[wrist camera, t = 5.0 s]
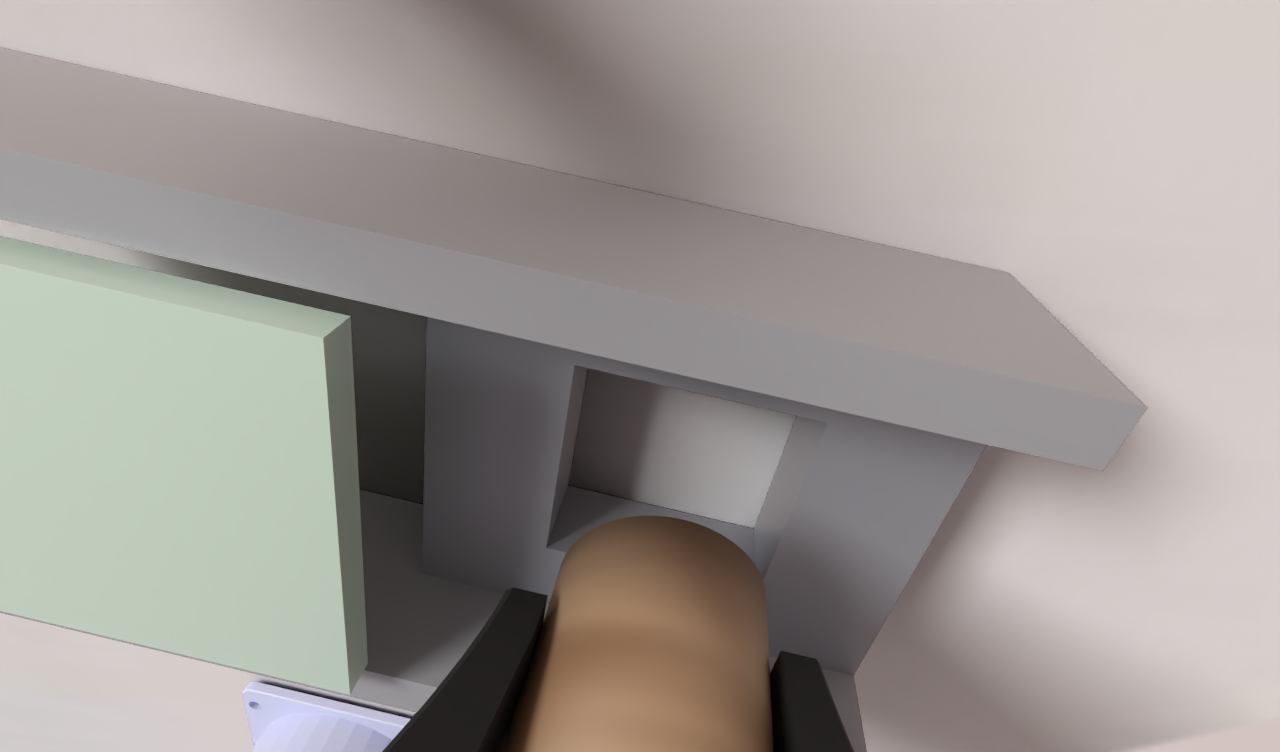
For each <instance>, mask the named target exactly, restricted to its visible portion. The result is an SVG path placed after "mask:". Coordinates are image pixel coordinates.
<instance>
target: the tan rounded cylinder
mask: <svg viewBox="0 0 1280 752" xmlns="http://www.w3.org/2000/svg"><path fill="white" fill-rule="evenodd" d="M502 752H774V748H773V727H772V706H771V685H770V664H769V643H768V622H767V601H766V589H765V585H764V582H763V579H762V577H761V574H760V572H759V570H758V568H757V567H756V565H755V564H754V562H753V561H752V560H751V559H750V557H749V556H748V555H747V554H746V553H745V552H744V551H743V550H742V549H741V548H740V547H738V546H737V545H736V544H735V543H734V542H732V541H731V540H729V539H728V538H726V537H725V536H723V535H722V534H720V533H718V532H716V531H714V530H712V529H710V528H708V527H705V526H702V525H700V524H697V523H694V522H690V521H687V520H683V519H678V518H672V517H666V516H634V517H626V518H621V519H617V520H613V521H610V522H607V523H605V524H602V525H599V526H597V527H595V528H594V529H592V530H590V531H588V532H587V533H585V534H584V535H583V536H581V537H580V538H579V539H578V540H577V541H576V542H575V543H574V544H573V545H572V546H571V547H570V549H569V550H568V552H567V553H566V555H565V557H564V559H563V561H562V564H561V567H560V570H559V573H558V576H557V579H556V583H555V586H554V589H553V592H552V595H551V598H550V602H549V605H548V608H547V611H546V614H545V617H544V621H543V625H542V628H541V632H540V635H539V638H538V641H537V644H536V648H535V651H534V654H533V657H532V660H531V663H530V667H529V670H528V673H527V676H526V679H525V682H524V685H523V687H522V690H521V694H520V697H519V700H518V703H517V706H516V709H515V713H514V716H513V719H512V722H511V725H510V729H509V732H508V735H507V738H506V741H505V744H504V748H503V751H502Z"/></svg>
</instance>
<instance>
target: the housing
mask: <svg viewBox="0 0 1280 752" xmlns="http://www.w3.org/2000/svg"><path fill="white" fill-rule="evenodd" d="M0 219H1V220H6V221H10V222H14V223H19V224H23V225H28V226H32V227H36V228H41V229H45V230H49V231H54V232H58V233H63V234H67V235H71V236H76V237H80V238H84V239H89V240H93V241H98V242H102V243H106V244H111V245H115V246H119V247H124V248H128V249H133V250H137V251H141V252H146V253H150V254H154V255H159V256H163V257H168V258H172V259H176V260H181V261H185V262H189V263H194V264H198V265H203V266H207V267H211V268H216V269H220V270H224V271H229V272H233V273H238V274H242V275H246V276H251V277H255V278H259V279H264V280H268V281H273V282H277V283H281V284H286V285H290V286H294V287H299V288H303V289H308V290H312V291H316V292H321V293H325V294H329V295H334V296H338V297H343V298H347V299H351V300H356V301H360V302H364V303H369V304H373V305H378V306H382V307H386V308H391V309H395V310H399V311H404V312H408V313H413V314H417V315H421V316H426V317H427V335H426V391H425V447H424V504H419V503H415V502H411V501H407V500H402V499H398V498H394V497H389V496H385V495H381V494H377V493H372V492H368V491H364V490H360V489H359V493H360V513H361V534H362V554H363V574H364V594H365V614H366V635H367V655H368V664H367V666H366V667H365V669H364V671H363V673H362V675H361V676H360V678H359V680H358V682H357V683H356V685H355V687H354V689H353V691H352V692H351V694H350V695H348V694H344V693H340V692H336V691H331V690H327V689H323V688H319V687H315V686H311V685H306V684H302V683H298V682H294V681H290V680H286V679H281V678H277V677H273V676H269V675H265V674H261V673H256V672H252V671H248V670H244V669H240V668H236V667H231V666H227V665H223V664H219V663H215V662H211V661H206V660H202V659H198V658H194V657H190V656H186V655H181V654H177V653H173V652H169V651H165V650H161V649H156V648H152V647H148V646H144V645H140V644H136V643H131V642H127V641H123V640H119V639H115V638H111V637H106V636H102V635H98V634H94V633H90V632H86V631H81V630H77V629H73V628H69V627H65V626H61V625H56V624H52V623H48V622H44V621H40V620H36V619H31V618H27V617H23V616H19V615H15V614H11V613H6V612H2V611H0V613H4V614H8V615H12V616H17V617H21V618H25V619H29V620H33V621H37V622H42V623H46V624H50V625H54V626H58V627H62V628H67V629H71V630H75V631H79V632H83V633H87V634H92V635H96V636H100V637H104V638H108V639H112V640H117V641H121V642H125V643H129V644H133V645H137V646H141V647H146V648H150V649H154V650H158V651H162V652H166V653H171V654H175V655H179V656H183V657H187V658H191V659H196V660H200V661H204V662H208V663H212V664H216V665H221V666H225V667H229V668H233V669H237V670H241V671H246V672H250V673H254V674H258V675H262V676H266V677H271V678H275V679H279V680H283V681H287V682H291V683H296V684H300V685H304V686H308V687H312V688H316V689H321V690H325V691H329V692H333V693H337V694H341V695H346V696H350V697H354V698H358V699H362V700H366V701H371V702H375V703H379V704H383V705H387V706H391V707H396V708H400V709H404V710H408V711H412V712H416V713H417V712H418V710H419V709H420V708H421V707H422V706H423V705H424V703H425V702H426V701H427V700H428V699H429V697H430V696H431V695H432V694H433V693H434V691H435V690H436V689H437V688H438V686H439V685H440V684H441V682H442V681H443V680H444V679H445V677H446V676H447V675H448V674H449V672H450V671H451V670H452V669H453V667H454V666H455V665H456V664H457V662H458V661H459V660H460V659H461V657H462V656H463V654H464V653H465V652H466V650H467V649H468V648H469V646H470V645H471V644H472V642H473V641H474V639H475V638H476V637H477V635H478V634H479V632H480V631H481V630H482V628H483V627H484V625H485V624H486V622H487V621H488V619H489V618H490V616H491V615H492V613H493V612H494V610H495V608H496V607H497V605H498V604H499V602H500V600H501V598H502V597H503V595H504V593H505V591H506V590H508V589H510V588H513V587H514V588H519V589H523V590H527V591H531V592H535V593H540V594H544V595H548V597H547V603H546V609H545V614H546V611H547V608H548V605H549V602H550V598H551V595H552V592H553V589H554V586H555V583H556V579H557V576H558V573H559V570H560V567H561V564H562V561H563V559H564V557H565V555H566V553H567V552H568V550H569V549H570V547H571V546H572V545H573V544H574V543H575V542H576V541H577V540H578V539H579V538H580V537H581V536H583V535H584V534H585V533H587V532H588V531H590V530H592V529H594V528H595V527H597V526H599V525H602V524H605V523H607V522H610V521H613V520H617V519H621V518H626V517H634V516H666V517H672V518H678V519H683V520H687V521H690V522H694V523H697V524H700V525H702V526H705V527H708V528H710V529H712V530H714V531H716V532H718V533H720V534H722V535H723V536H725V537H726V538H728V539H729V540H731V541H732V542H734V543H735V544H736V545H737V546H738V547H740V548H741V549H742V550H743V551H744V552H745V553H746V554H747V555H748V556H749V557H750V559H751V560H752V561H753V562H754V564H755V565H756V567H757V568H758V570H759V572H760V574H761V577H762V579H763V582H764V585H765V589H766V601H767V622H768V643H769V664H770V672H771V670H772V668H773V666H774V664H775V662H776V660H777V658H778V655H779V653H780V651H785V652H789V653H793V654H798V655H802V656H806V657H810V658H815V659H817V661H818V662H819V664H820V666H821V668H822V671H823V674H824V677H825V679H826V682H827V685H828V687H829V690H830V693H831V695H832V698H833V700H834V703H835V706H836V708H837V711H838V713H839V716H840V718H841V721H842V723H843V726H844V728H845V731H846V733H847V736H848V738H849V740H850V743H851V745H852V748H853V750H854V752H867V750H866V744H865V739H864V733H863V727H862V722H861V716H860V710H859V704H858V699H857V693H856V687H855V682H854V676H853V675H854V674H855V672H856V670H857V669H858V667H859V665H860V663H861V662H862V660H863V658H864V656H865V655H866V653H867V651H868V650H869V648H870V646H871V644H872V643H873V641H874V639H875V637H876V636H877V634H878V632H879V631H880V629H881V627H882V625H883V624H884V622H885V620H886V618H887V617H888V615H889V613H890V612H891V610H892V608H893V606H894V605H895V603H896V601H897V599H898V598H899V596H900V594H901V593H902V591H903V589H904V587H905V586H906V584H907V582H908V580H909V579H910V577H911V575H912V574H913V572H914V570H915V568H916V567H917V565H918V563H919V561H920V560H921V558H922V556H923V555H924V553H925V551H926V549H927V548H928V546H929V544H930V542H931V541H932V539H933V537H934V536H935V534H936V532H937V530H938V529H939V527H940V525H941V523H942V522H943V520H944V518H945V516H946V515H947V513H948V511H949V510H950V508H951V506H952V504H953V503H954V501H955V499H956V497H957V496H958V494H959V492H960V491H961V489H962V487H963V485H964V484H965V482H966V480H967V478H968V477H969V475H970V473H971V472H972V470H973V468H974V466H975V465H976V463H977V461H978V459H979V458H980V456H981V454H982V453H983V451H984V449H985V447H986V446H987V445H990V446H994V447H999V448H1003V449H1008V450H1012V451H1016V452H1021V453H1025V454H1029V455H1034V456H1038V457H1043V458H1047V459H1051V460H1056V461H1060V462H1064V463H1069V464H1073V465H1078V466H1082V467H1086V468H1091V469H1095V470H1099V471H1103V470H1104V468H1105V467H1106V466H1107V464H1108V463H1109V461H1110V460H1111V459H1112V457H1113V456H1114V454H1115V453H1116V452H1117V450H1118V449H1119V447H1120V446H1121V445H1122V443H1123V442H1124V440H1125V439H1126V437H1127V436H1128V435H1129V433H1130V432H1131V430H1132V429H1133V428H1134V426H1135V425H1136V423H1137V422H1138V421H1139V419H1140V418H1141V416H1142V415H1143V414H1144V412H1145V411H1146V409H1147V408H1148V407H1147V406H1146V405H1145V404H1144V403H1143V402H1142V401H1141V400H1140V399H1138V398H1137V397H1136V396H1135V395H1134V394H1133V393H1132V392H1131V391H1130V390H1129V389H1128V388H1127V387H1126V386H1125V385H1124V384H1123V383H1122V382H1121V381H1120V380H1119V379H1118V378H1117V377H1116V376H1115V375H1114V374H1113V373H1112V372H1111V371H1110V370H1109V369H1108V368H1107V367H1106V366H1105V365H1104V364H1102V363H1101V362H1100V361H1099V360H1098V359H1097V358H1096V357H1095V356H1094V355H1093V354H1092V353H1091V352H1090V351H1089V350H1088V349H1087V348H1086V347H1085V346H1084V345H1083V344H1082V343H1081V342H1080V341H1079V340H1078V339H1077V338H1076V337H1075V336H1074V335H1073V334H1072V333H1071V332H1070V331H1069V330H1068V329H1066V328H1065V327H1064V326H1063V325H1062V324H1061V323H1060V322H1059V321H1058V320H1057V319H1056V318H1055V317H1054V316H1053V315H1052V314H1051V313H1050V312H1049V311H1048V310H1047V309H1046V308H1045V307H1044V306H1043V305H1042V304H1041V303H1040V302H1039V301H1038V300H1037V299H1036V298H1035V297H1034V296H1033V295H1031V294H1030V293H1029V292H1028V291H1027V290H1026V289H1025V288H1024V287H1023V286H1022V285H1021V284H1020V283H1019V282H1018V281H1017V280H1016V279H1015V278H1014V277H1013V276H1012V275H1011V274H1010V273H1007V272H1003V271H998V270H994V269H989V268H985V267H980V266H976V265H971V264H967V263H962V262H958V261H953V260H949V259H944V258H940V257H936V256H931V255H927V254H922V253H918V252H913V251H909V250H904V249H900V248H895V247H891V246H886V245H882V244H877V243H873V242H868V241H864V240H859V239H855V238H851V237H846V236H842V235H837V234H833V233H828V232H824V231H819V230H815V229H810V228H806V227H801V226H797V225H792V224H788V223H783V222H779V221H775V220H770V219H766V218H761V217H757V216H752V215H748V214H743V213H739V212H734V211H730V210H725V209H721V208H716V207H712V206H707V205H703V204H698V203H694V202H690V201H685V200H681V199H676V198H672V197H667V196H663V195H658V194H654V193H649V192H645V191H640V190H636V189H631V188H627V187H622V186H618V185H613V184H609V183H605V182H600V181H596V180H591V179H587V178H582V177H578V176H573V175H569V174H564V173H560V172H555V171H551V170H546V169H542V168H537V167H533V166H528V165H524V164H520V163H515V162H511V161H506V160H502V159H497V158H493V157H488V156H484V155H479V154H475V153H470V152H466V151H461V150H457V149H452V148H448V147H443V146H439V145H435V144H430V143H426V142H421V141H417V140H412V139H408V138H403V137H399V136H394V135H390V134H385V133H381V132H376V131H372V130H367V129H363V128H358V127H354V126H350V125H345V124H341V123H336V122H332V121H327V120H323V119H318V118H314V117H309V116H305V115H300V114H296V113H291V112H287V111H282V110H278V109H274V108H269V107H265V106H260V105H256V104H251V103H247V102H242V101H238V100H233V99H229V98H224V97H220V96H215V95H211V94H206V93H202V92H197V91H193V90H189V89H184V88H180V87H175V86H171V85H166V84H162V83H157V82H153V81H148V80H144V79H139V78H135V77H130V76H126V75H121V74H117V73H112V72H108V71H104V70H99V69H95V68H90V67H86V66H81V65H77V64H72V63H68V62H63V61H59V60H54V59H50V58H45V57H41V56H36V55H32V54H27V53H23V52H19V51H14V50H10V49H5V48H1V47H0ZM588 368H590V369H594V370H598V371H603V372H607V373H611V374H616V375H620V376H625V377H629V378H633V379H638V380H642V381H646V382H651V383H655V384H660V385H664V386H668V387H673V388H677V389H681V390H686V391H690V392H694V393H699V394H703V395H708V396H712V397H716V398H721V399H725V400H729V401H734V402H738V403H743V404H747V405H751V406H756V407H760V408H764V409H769V410H773V411H777V412H782V413H786V414H791V415H795V416H797V417H796V419H795V422H794V425H793V427H792V430H791V433H790V435H789V438H788V440H787V443H786V446H785V448H784V451H783V454H782V456H781V459H780V462H779V464H778V467H777V470H776V472H775V475H774V477H773V480H772V483H771V485H770V488H769V491H768V493H767V496H766V499H765V501H764V504H763V507H762V509H761V512H760V515H759V517H758V520H757V522H756V525H755V528H754V529H753V528H748V527H744V526H740V525H736V524H731V523H727V522H723V521H718V520H714V519H710V518H705V517H701V516H697V515H693V514H688V513H684V512H680V511H675V510H671V509H667V508H662V507H658V506H654V505H650V504H645V503H641V502H637V501H632V500H628V499H624V498H619V497H615V496H611V495H607V494H602V493H598V492H594V491H589V490H585V489H581V488H576V487H572V486H568V483H569V478H570V472H571V466H572V460H573V454H574V448H575V442H576V436H577V430H578V424H579V418H580V412H581V406H582V400H583V394H584V388H585V382H586V376H587V370H588ZM544 617H545V615H544Z"/></svg>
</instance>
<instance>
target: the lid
mask: <svg viewBox="0 0 1280 752" xmlns="http://www.w3.org/2000/svg"><path fill="white" fill-rule="evenodd" d="M0 611H2V612H6V613H11V614H15V615H19V616H23V617H27V618H31V619H36V620H40V621H44V622H48V623H52V624H56V625H61V626H65V627H69V628H73V629H77V630H81V631H86V632H90V633H94V634H98V635H102V636H106V637H111V638H115V639H119V640H123V641H127V642H131V643H136V644H140V645H144V646H148V647H152V648H156V649H161V650H165V651H169V652H173V653H177V654H181V655H186V656H190V657H194V658H198V659H202V660H206V661H211V662H215V663H219V664H223V665H227V666H231V667H236V668H240V669H244V670H248V671H252V672H256V673H261V674H265V675H269V676H273V677H277V678H281V679H286V680H290V681H294V682H298V683H302V684H306V685H311V686H315V687H319V688H323V689H327V690H331V691H336V692H340V693H344V694H348V695H350V694H351V692H352V691H353V689H354V687H355V685H356V683H357V682H358V680H359V678H360V676H361V675H362V673H363V671H364V669H365V667H366V666H367V664H368V655H367V635H366V614H365V594H364V574H363V554H362V534H361V513H360V493H359V473H358V453H357V432H356V412H355V392H354V372H353V352H352V331H351V316H348V315H344V314H339V313H335V312H331V311H326V310H322V309H318V308H313V307H309V306H304V305H300V304H296V303H291V302H287V301H283V300H278V299H274V298H269V297H265V296H261V295H256V294H252V293H248V292H243V291H239V290H235V289H230V288H226V287H221V286H217V285H213V284H208V283H204V282H200V281H195V280H191V279H187V278H182V277H178V276H173V275H169V274H165V273H160V272H156V271H152V270H147V269H143V268H139V267H134V266H130V265H125V264H121V263H117V262H112V261H108V260H104V259H99V258H95V257H91V256H86V255H82V254H77V253H73V252H69V251H64V250H60V249H56V248H51V247H47V246H42V245H38V244H34V243H29V242H25V241H21V240H16V239H12V238H8V237H3V236H0Z"/></svg>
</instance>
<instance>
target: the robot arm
mask: <svg viewBox="0 0 1280 752" xmlns="http://www.w3.org/2000/svg"><path fill="white" fill-rule="evenodd" d="M547 597H548V595H544V594H540V593H535V592H531V591H527V590H523V589H519V588H514V587H513V588H510V589H508V590H506V591H505V593H504V595H503V597H502V598H501V600H500V602H499V604H498V605H497V607H496V608H495V610H494V612H493V613H492V615H491V616H490V618H489V619H488V621H487V622H486V624H485V625H484V627H483V628H482V630H481V631H480V632H479V634H478V635H477V637H476V638H475V639H474V641H473V642H472V644H471V645H470V646H469V648H468V649H467V650H466V652H465V653H464V654H463V656H462V657H461V659H460V660H459V661H458V662H457V664H456V665H455V666H454V667H453V669H452V670H451V671H450V672H449V674H448V675H447V676H446V677H445V679H444V680H443V681H442V682H441V684H440V685H439V686H438V688H437V689H436V690H435V691H434V693H433V694H432V695H431V696H430V697H429V699H428V700H427V701H426V702H425V703H424V705H423V706H422V707H421V708H420V709H419V710H418V712H417V713H416V714H415V715H414V716H413V717H412V718H411V719H410V718H406V717H402V716H397V715H393V714H389V713H385V712H381V711H377V710H372V709H368V708H364V707H360V706H356V705H352V704H347V703H343V702H339V701H335V700H331V699H327V698H322V697H318V696H314V695H310V694H306V693H302V692H297V691H293V690H289V689H285V688H281V687H277V686H273V685H268V684H264V683H260V682H251V683H249V684H248V685H247V686H246V687H245V689H244V690H243V692H242V695H243V700H244V704H245V709H246V714H247V718H248V723H249V727H250V732H251V736H252V741H253V747H252V749H251V751H250V752H502V751H503V748H504V744H505V741H506V738H507V735H508V732H509V729H510V725H511V722H512V719H513V716H514V713H515V709H516V706H517V703H518V700H519V697H520V694H521V690H522V687H523V685H524V682H525V679H526V676H527V673H528V670H529V667H530V663H531V660H532V657H533V654H534V651H535V648H536V644H537V641H538V638H539V635H540V632H541V628H542V625H543V621H544V615H545V609H546V603H547ZM770 685H771V706H772V727H773V748H774V752H854V750H853V748H852V745H851V743H850V740H849V738H848V736H847V733H846V731H845V728H844V726H843V723H842V721H841V718H840V716H839V713H838V711H837V708H836V706H835V703H834V700H833V698H832V695H831V693H830V690H829V687H828V685H827V682H826V679H825V677H824V674H823V671H822V668H821V666H820V664H819V662H818V661H817V659H815V658H810V657H806V656H802V655H798V654H793V653H789V652H785V651H780V653H779V655H778V658H777V660H776V662H775V664H774V666H773V668H772V670H771V672H770Z"/></svg>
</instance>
